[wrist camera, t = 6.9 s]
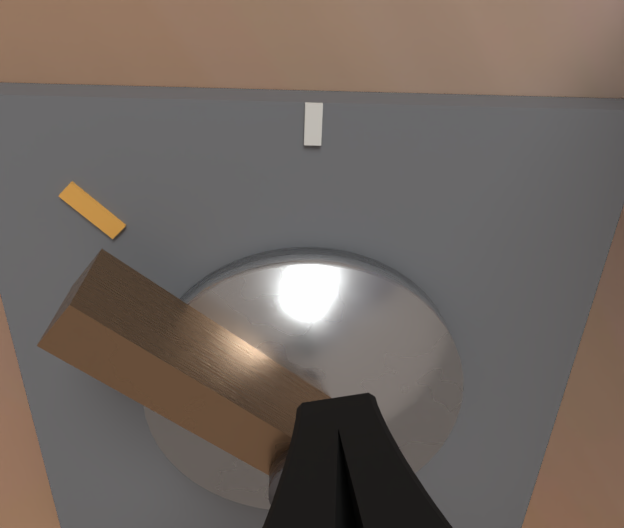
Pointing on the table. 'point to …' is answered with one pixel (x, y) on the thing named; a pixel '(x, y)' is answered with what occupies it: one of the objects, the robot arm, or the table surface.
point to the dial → (262, 357)
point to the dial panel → (309, 233)
